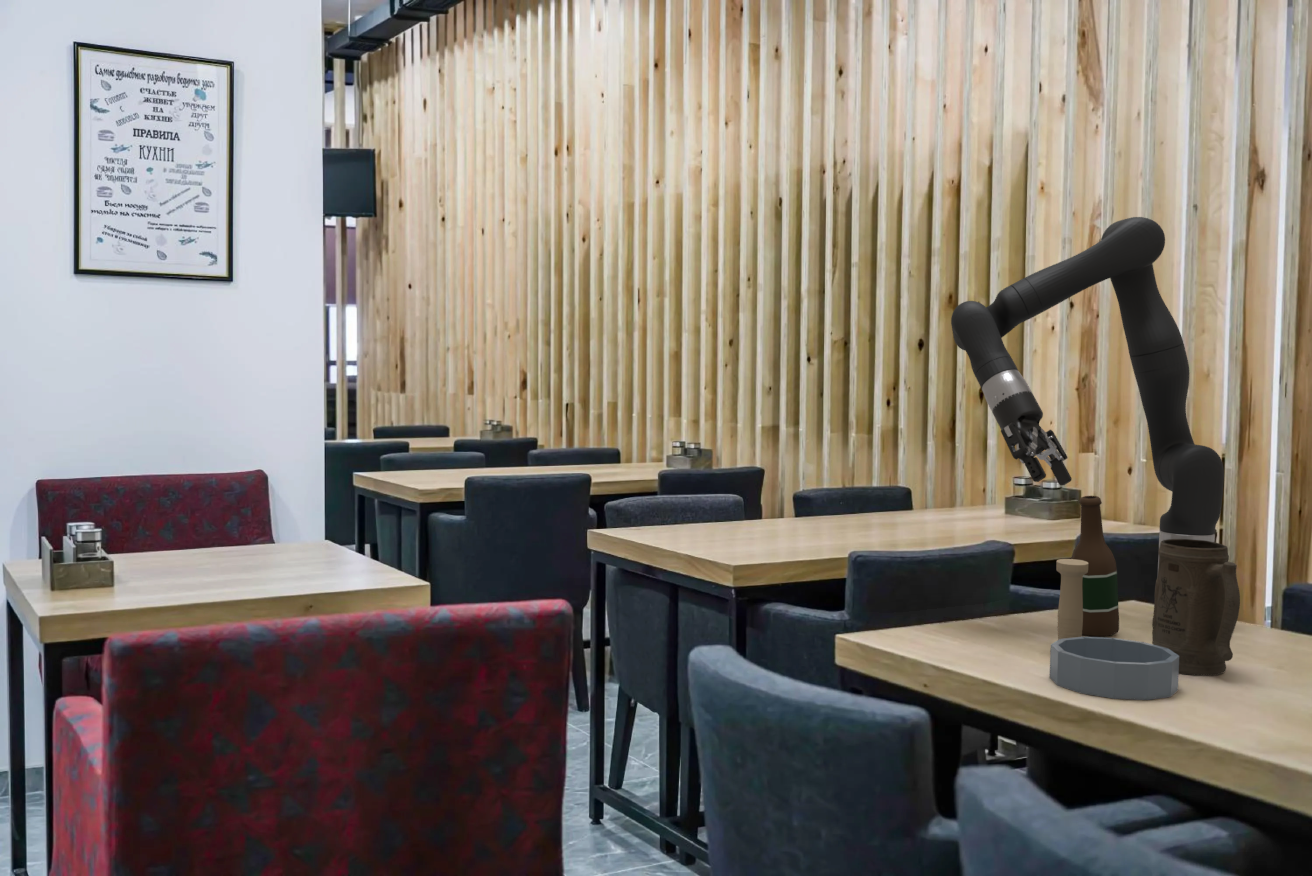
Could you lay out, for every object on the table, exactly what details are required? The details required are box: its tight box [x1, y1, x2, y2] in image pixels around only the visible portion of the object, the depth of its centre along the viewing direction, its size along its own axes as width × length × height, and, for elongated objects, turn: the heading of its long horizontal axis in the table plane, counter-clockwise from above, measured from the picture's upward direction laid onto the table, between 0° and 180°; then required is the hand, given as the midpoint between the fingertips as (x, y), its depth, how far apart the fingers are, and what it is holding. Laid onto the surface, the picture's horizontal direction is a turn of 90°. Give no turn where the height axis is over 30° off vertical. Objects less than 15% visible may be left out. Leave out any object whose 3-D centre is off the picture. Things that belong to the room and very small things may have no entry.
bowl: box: [1049, 636, 1180, 701], centre depth 174 cm, size 17×17×5 cm
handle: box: [1055, 558, 1088, 640], centre depth 193 cm, size 5×6×15 cm
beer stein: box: [1151, 539, 1241, 676], centre depth 183 cm, size 15×11×20 cm
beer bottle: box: [1070, 495, 1120, 637], centre depth 207 cm, size 8×8×24 cm
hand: (1053, 481), depth 200 cm, fingers open, 8 cm apart
